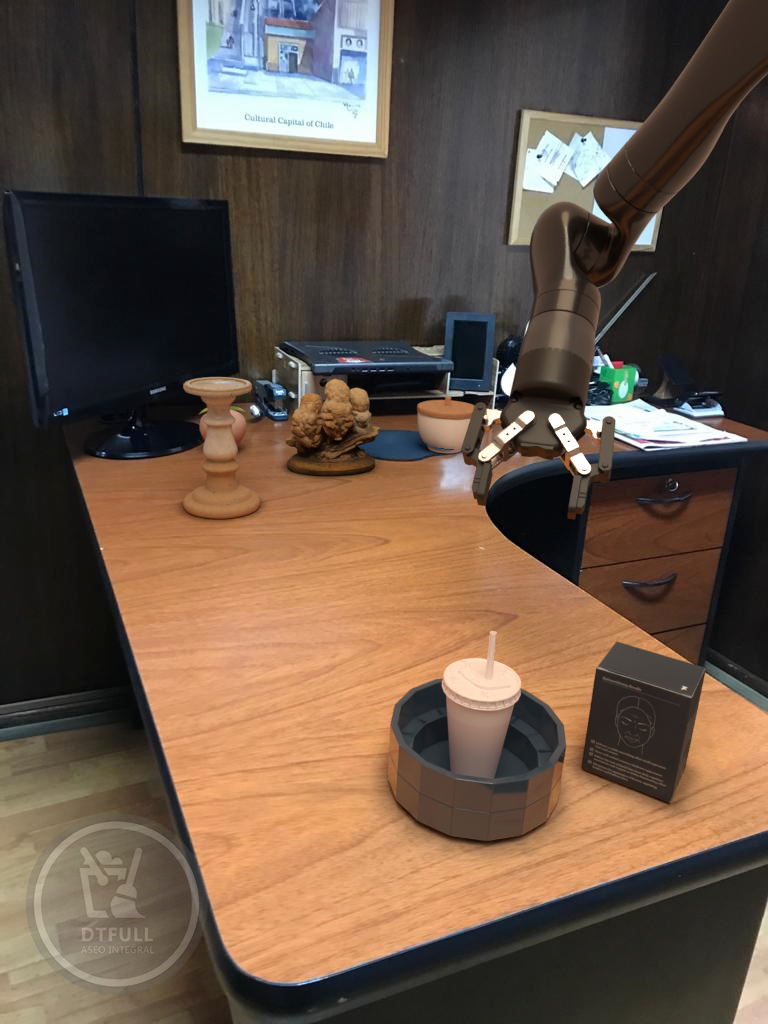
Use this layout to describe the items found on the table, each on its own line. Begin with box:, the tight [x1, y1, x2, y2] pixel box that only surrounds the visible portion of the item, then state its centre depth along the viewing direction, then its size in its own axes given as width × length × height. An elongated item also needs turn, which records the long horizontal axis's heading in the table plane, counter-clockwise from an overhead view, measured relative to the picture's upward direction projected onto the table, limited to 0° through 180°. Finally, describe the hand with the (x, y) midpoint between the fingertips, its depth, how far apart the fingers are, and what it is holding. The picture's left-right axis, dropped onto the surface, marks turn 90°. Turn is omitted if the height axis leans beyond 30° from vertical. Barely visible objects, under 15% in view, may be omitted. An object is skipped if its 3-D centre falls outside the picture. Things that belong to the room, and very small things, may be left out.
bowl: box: [386, 677, 567, 842], centre depth 65 cm, size 14×14×6 cm
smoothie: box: [442, 630, 522, 779], centre depth 63 cm, size 6×6×14 cm
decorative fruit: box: [198, 405, 248, 445], centre depth 153 cm, size 9×8×10 cm
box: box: [581, 641, 707, 803], centre depth 67 cm, size 8×6×11 cm
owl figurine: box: [285, 378, 381, 477], centre depth 145 cm, size 18×12×17 cm, turn 106°
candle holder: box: [182, 376, 261, 520], centre depth 122 cm, size 12×12×20 cm
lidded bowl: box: [416, 396, 475, 454], centre depth 162 cm, size 13×13×11 cm
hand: (525, 508), depth 73 cm, fingers open, 8 cm apart
